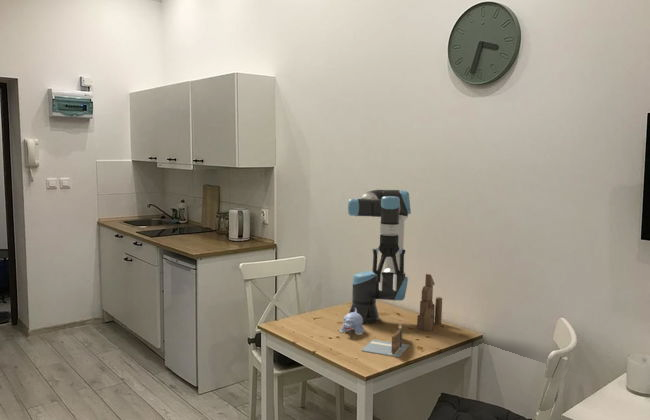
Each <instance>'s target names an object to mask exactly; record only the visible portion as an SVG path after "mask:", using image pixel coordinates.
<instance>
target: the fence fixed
mask: <svg viewBox="0 0 650 420" xmlns="http://www.w3.org/2000/svg"><path fill="white" fill-rule="evenodd" d="M402 337H403V330H402V329H401V330H399V329H398V330H396V332H395V333H394V334H393V335H392V336H391V342H392V350H391V353H392V354H395V353H396V351H397V350H398V349H399V348H400V347H401V344H403V343H402V341H403V340H402Z"/></svg>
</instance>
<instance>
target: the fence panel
mask: <svg viewBox="0 0 650 420" xmlns="http://www.w3.org/2000/svg"><path fill="white" fill-rule="evenodd" d="M402 322H403V320H400V319H399V320H398V330H402Z"/></svg>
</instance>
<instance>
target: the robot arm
mask: <svg viewBox="0 0 650 420" xmlns="http://www.w3.org/2000/svg"><path fill="white" fill-rule="evenodd" d="M347 203H348V204H347V212H348V215H349V216H351V217H372V218H380V224H379V225H380V227H379V228H380V229H379V231H380V232H379V233H380V235H379V246H378V247H376V248H372V249H371V250H372V254H373V255H372V270H369V271H361V272H357V273H355V274H354V275H353V277H352V283H351V284H352V297H351V300H352V301H351V306H350V308H349V311H348V313H351V312H355V308H356V309H357V313H358V314H360V315H361V316H362V318H363V323H362V324H373V323H377V322H378V321H379V320H380V313H379V311H378V308H377V300H384V301H385V300H386V301H394V302H395V301H398V302H400V301H401V302H402V301H405V300H404V299H405V298H406V293H407V287H408V282H409V277H408V276H406V272H405V254H406V249H404V243H405V242H404V238H405V236H404V235H405V221H406V220H407V219H408V218H409V217H408V216H409V215H410V214H411V213H412V212H411V200H410V192H409V191H407V190H401V189H374V190H373V189H372V190H369V191H365V192H364V193H362V194H361V195H360V197H359V198H356V197H355V198H349V200H348V202H347ZM379 252H380V254H381V256H380V259H379V264H378V254H379ZM383 267H384V269H383Z"/></svg>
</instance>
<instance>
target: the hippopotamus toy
mask: <svg viewBox="0 0 650 420" xmlns="http://www.w3.org/2000/svg"><path fill="white" fill-rule="evenodd" d="M342 323H343V324H342V326H341V328H340V329H339V333H342V334H343V333H347V332H349V331H351V330H352V329H353V331H354V334H355V335H357V336H358V335H359V336H360V335H361V336H362V335H363V333H364V332H365V331H366V329H365V327H364V325H363V324H364V323H363V318H362V316H361V315H360V314H358V313H357V309H356V308H355V312H351V313H349V312H348V313H346V314H345V315H344V317H343V319H342Z"/></svg>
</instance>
